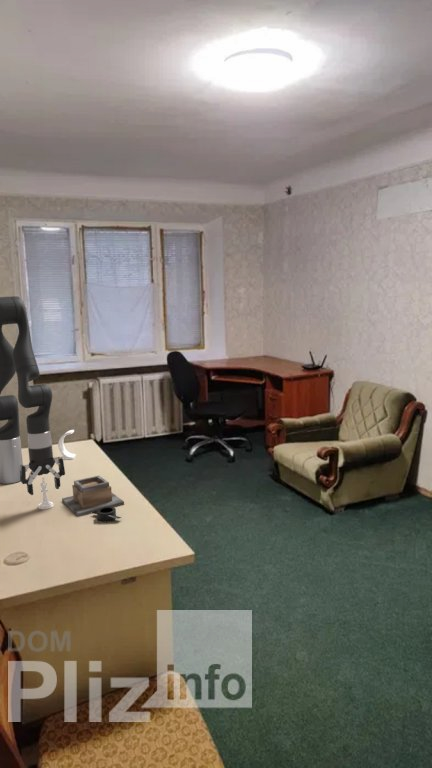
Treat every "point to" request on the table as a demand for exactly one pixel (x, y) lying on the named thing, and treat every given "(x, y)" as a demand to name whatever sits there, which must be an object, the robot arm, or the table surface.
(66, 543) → the table surface
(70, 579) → the table surface
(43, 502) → the chess piece
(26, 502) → the table surface
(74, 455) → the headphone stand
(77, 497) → the pedestal
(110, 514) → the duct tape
